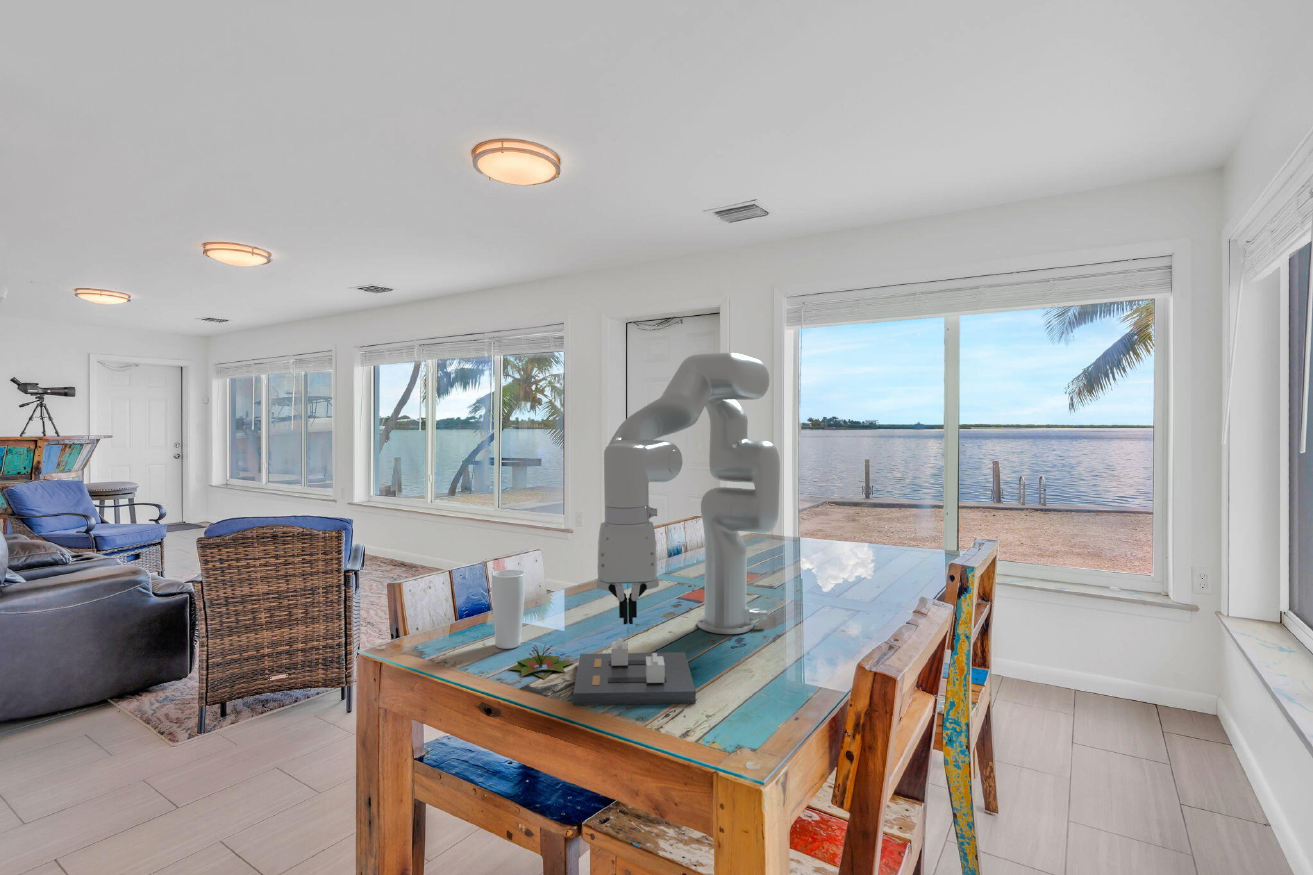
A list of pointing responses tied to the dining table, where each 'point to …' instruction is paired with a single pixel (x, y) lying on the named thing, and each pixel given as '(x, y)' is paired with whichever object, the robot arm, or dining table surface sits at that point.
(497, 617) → the drinking glass
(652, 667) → the block
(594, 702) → the breaker panel
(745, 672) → the dining table surface
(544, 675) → the lily flower
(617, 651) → the breaker
